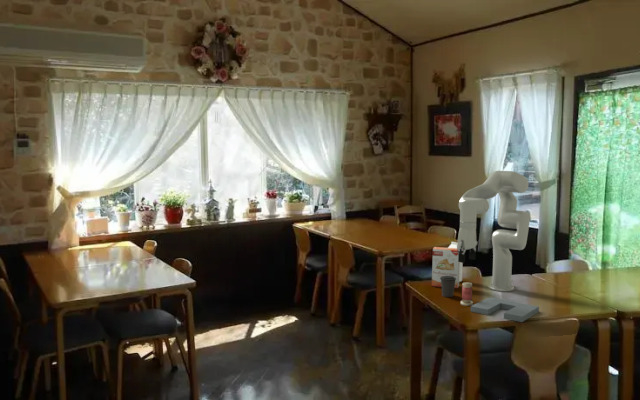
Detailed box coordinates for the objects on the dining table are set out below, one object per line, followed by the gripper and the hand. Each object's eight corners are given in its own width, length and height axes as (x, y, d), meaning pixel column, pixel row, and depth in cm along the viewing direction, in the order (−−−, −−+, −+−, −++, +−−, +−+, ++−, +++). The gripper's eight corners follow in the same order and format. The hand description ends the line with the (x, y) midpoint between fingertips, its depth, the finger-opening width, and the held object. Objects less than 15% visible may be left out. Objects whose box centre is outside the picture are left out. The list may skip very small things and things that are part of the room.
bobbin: (463, 301, 279) (464, 281, 278) (475, 303, 275) (475, 283, 274) (458, 304, 274) (458, 283, 273) (469, 306, 270) (470, 285, 269)
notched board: (489, 302, 277) (489, 297, 277) (538, 311, 262) (539, 306, 262) (470, 311, 262) (470, 306, 262) (521, 322, 247) (522, 316, 246)
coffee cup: (456, 298, 284) (456, 278, 283) (439, 297, 286) (440, 277, 285) (455, 294, 292) (456, 274, 291) (439, 293, 294) (439, 274, 293)
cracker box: (431, 286, 307) (432, 248, 305) (433, 283, 313) (434, 246, 310) (458, 288, 302) (459, 250, 300) (459, 286, 308) (460, 248, 306)
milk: (454, 282, 315) (455, 243, 313) (446, 280, 320) (447, 242, 318) (462, 281, 319) (463, 242, 316) (454, 279, 324) (454, 240, 321)
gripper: (470, 222, 278) (469, 257, 280) (451, 226, 266) (450, 262, 268) (484, 224, 273) (483, 259, 275) (465, 228, 261) (464, 264, 262)
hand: (466, 260), depth 271 cm, fingers open, 9 cm apart
